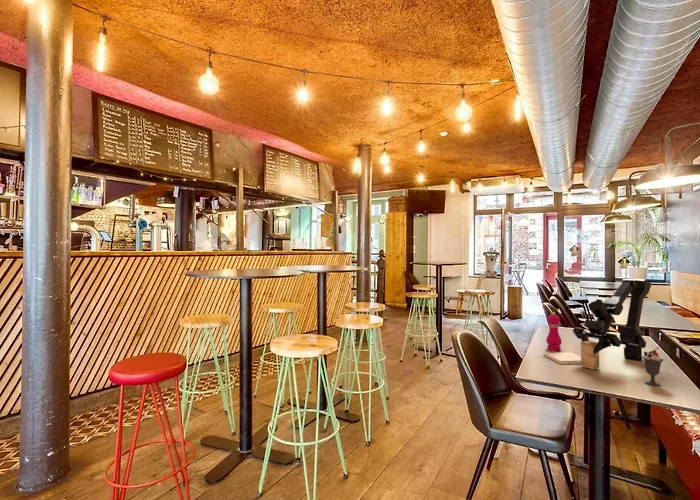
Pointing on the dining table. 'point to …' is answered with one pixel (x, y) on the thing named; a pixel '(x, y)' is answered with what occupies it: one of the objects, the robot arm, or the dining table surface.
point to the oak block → (589, 355)
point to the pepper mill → (553, 333)
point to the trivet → (564, 358)
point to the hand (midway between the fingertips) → (588, 351)
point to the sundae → (652, 366)
